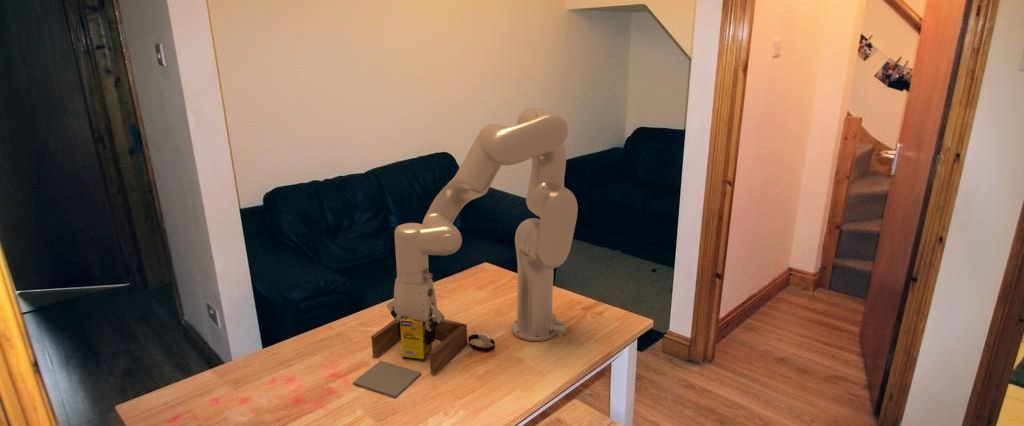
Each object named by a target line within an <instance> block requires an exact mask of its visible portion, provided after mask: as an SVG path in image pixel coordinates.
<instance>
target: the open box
mask: <svg viewBox="0 0 1024 426" xmlns="http://www.w3.org/2000/svg"><path fill="white" fill-rule="evenodd" d="M432 316H433V318H434V319H435V320H436V317H435V316H434V315H432ZM467 328H468V326H467V324H465V323H461V322H456V321H454V320H449V319H445V318H444V319H443V320H442V322H441V323H440V324H439V325H438V326H436V327H435V340H434V341H440V343H439V344H437V346H435V347H434V348H432V350H431V351H430V353H429V361H430V362H429V365H430V376H431V375H432V376H434V377H436V376H437V375H438V374H439V373H440V372H441V371H442V370H443V369H444V368H445V367H446V366H447V365H448V364H450V362H451V361H452V360H453V359H454V358H456V356H458V355H459V354H460V353H461V352H462V350H463V351H464V349H465V348H466V347H467V346H468V329H467ZM399 342H401V338H399V337H398V330H397V323H396V322H395V319H394V320H392V321H391V322H389V323H387V324H386V325H385V326H383V327H382V328H380V329H379V330H378V331H376V332H374V333H373V334H372V335H371V345H372V346H371V348H372V358H374V359H378V358H380V357H381V356H382V355H384V354H385V353H386V352H387V351H389V350H390V349H392V348H393V347H394V346H395V345H397V344H398V343H399Z"/></svg>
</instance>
